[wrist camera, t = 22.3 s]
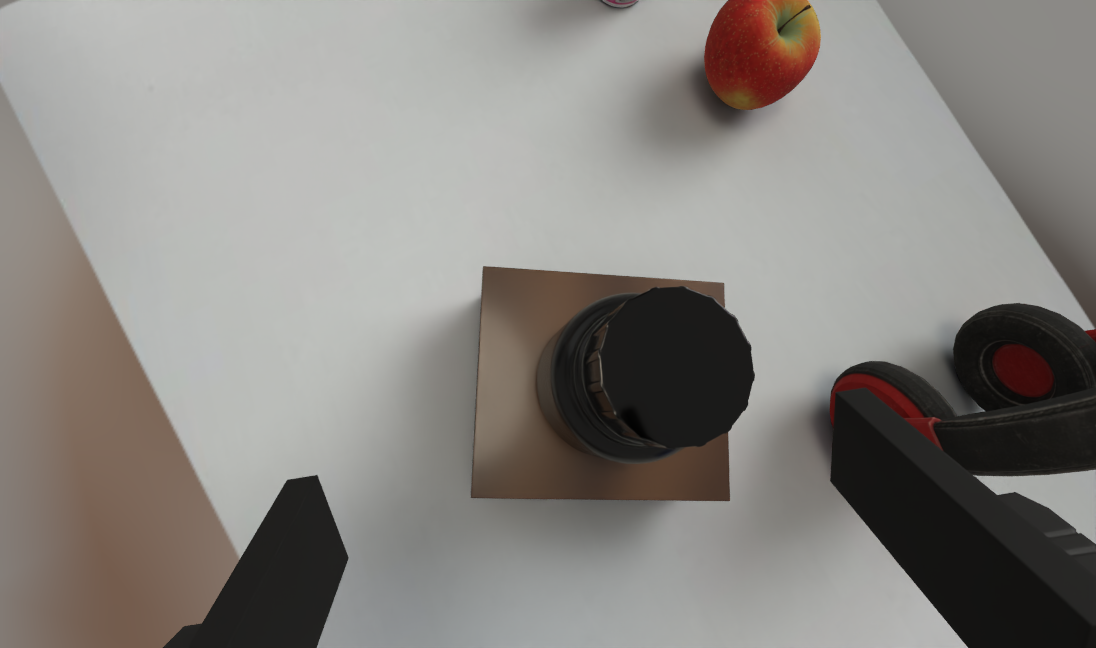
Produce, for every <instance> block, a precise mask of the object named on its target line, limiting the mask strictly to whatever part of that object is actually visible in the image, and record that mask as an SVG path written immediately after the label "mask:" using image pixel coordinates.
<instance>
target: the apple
mask: <svg viewBox="0 0 1096 648" xmlns="http://www.w3.org/2000/svg"><path fill="white" fill-rule="evenodd" d="M820 40H821V34H820V26H819V22H818V18H817V15H816V13H815V11H814V9H813V7H812V6H811V4H810V3H809V2H808V0H728V1H727V2H726V3H725V5H724V6H723V7H722V8H721V9H720V11H719V12H718V14H717V16H716V17H715V19H714V21H713V23H712V25H711V28H710V31H709V34H708V37H707V41H706V46H705V55H704V62H705V71H706V76H707V79H708V82H709V84H710V86H711V88H712V89H713V91H714V92H715V94H716V95H717V96H718V97H719V98H720V99H721V100H722V101H723V102H724V103H726V104H727V105H729V106H731V107H733V108H736V109H742V110H752V109H757V108H762V107H764V106H767V105H769V104H772V103H774V102H776V101H777V100H779V99H781V98H782V97H784V96H785V95H786V94H788V93H789V92H790V91H792V90H793V89H794V88H795V87H796V86H797V85H798V84H799V83H800V82H801V81H802V80H803V79H804V77H805V76H806V75H807V73H808V72H809V71H810V69H811V68H812V66H813V64H814V62H815V60H816V58H817V55H818V52H819V48H820Z"/></svg>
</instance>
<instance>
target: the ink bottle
mask: <svg viewBox="0 0 1096 648" xmlns="http://www.w3.org/2000/svg"><path fill="white" fill-rule="evenodd" d="M754 378H755V373H754V371H753V364H752V356H751V345H750V343H749V341H747V339H746V337H745V335H744V333H743V331H742V329H741V327H740V325H739V324H738V320H737V318H736V317H735V316H734V315H733V314H731V313H729V312H728V311H727V310H726V309H725V308H724V307H723V306H722V305H721V304H719V303H718V302H717V301H716V299H715V298H714V297H712V296H710V295H705V294H702V293H700V292H697V291H694V290H691V289H689V288H688V287H685V286H679V287H663V288H660V287H653V288H651V289H649V290H648V291H646V292H644V293H621V294H616V295H611V296H608V297H605V298H602V299H599V300H597V301H595V302H593V303H591V304H590V305H588V306H586V307H585V308H583V309H582V310H581V311H579V312H578V313H577V314H576V315H575V316H574V317H572V318H571V319H570V320H569V321H568V322H567V323H566V324H565V325H564V326H563V327H562V328H561V329H560V330H559V331H558V332H557V333H556V334H555V335H554V336H553V337H552V338H551V340H550V341H549V342H548V344H547V345H546V347H545V349H544V351H543V353H542V355H541V358H540V361H539V365H538V371H537V391H538V397H539V401H540V405H541V408H542V410H543V413H544V415H545V417H546V419H547V421H548V422H549V424H550V426H551V427H552V428H553V430H554V431H555V432H556V433H557V435H558V436H559V437H560V438H561V439H562V440H564V441H565V442H566V443H567V444H569V445H570V446H571V447H573V448H575V449H576V450H578V451H580V452H583V453H585V454H588V455H592V456H595V457H599V458H603V459H606V460H610V461H614V462H618V463H625V464H644V463H650V462H655V461H659V460H662V459H665V458H667V457H670V456H672V455H674V454H676V453H677V452H679V451H681V450H682V449H684V448H685V447H701V446H704V445H706V443H708V442H709V441H711V440H713V439H715V438H717V437H719V436H720V435H722V434H726V433H727V432H729V431H730V430H731V428H732V425H733V424H734V423H735V421H736V420H737V419H738V418H739V416H740V415H741V413H742V412H743V411H745V410H746V408H747V406H748V399H749V395H750V391H751V387H752V383H753V381H754Z"/></svg>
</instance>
